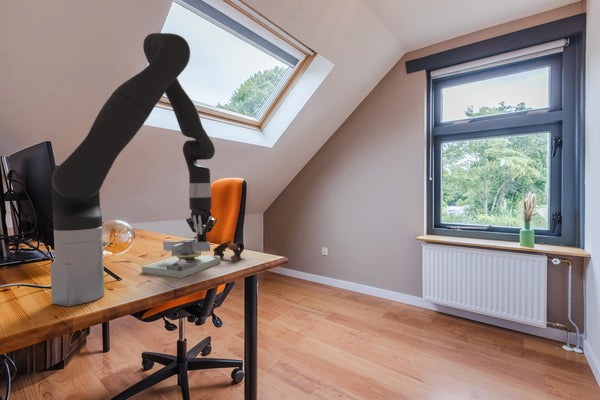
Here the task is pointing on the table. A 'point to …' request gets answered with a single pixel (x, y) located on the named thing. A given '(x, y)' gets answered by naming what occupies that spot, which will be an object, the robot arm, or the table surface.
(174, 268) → the stand
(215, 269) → the table surface
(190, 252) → the capstan
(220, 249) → the gnarled brown arch
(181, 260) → the ball
